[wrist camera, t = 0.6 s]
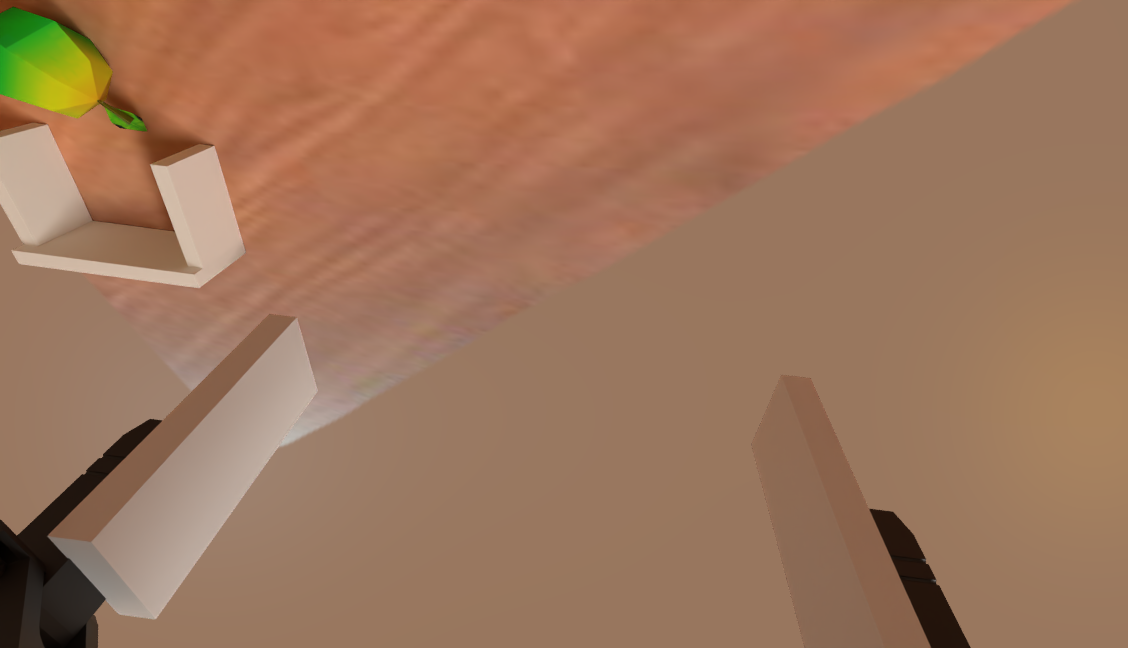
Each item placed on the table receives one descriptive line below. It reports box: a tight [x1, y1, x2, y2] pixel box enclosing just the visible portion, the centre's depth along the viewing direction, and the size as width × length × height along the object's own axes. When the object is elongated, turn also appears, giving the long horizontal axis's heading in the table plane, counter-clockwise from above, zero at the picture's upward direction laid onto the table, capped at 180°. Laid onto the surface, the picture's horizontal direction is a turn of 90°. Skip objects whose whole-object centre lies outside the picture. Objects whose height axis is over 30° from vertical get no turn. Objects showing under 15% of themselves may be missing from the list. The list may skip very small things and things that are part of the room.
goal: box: [0, 123, 246, 288], centre depth 40 cm, size 9×14×6 cm, turn 85°
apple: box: [0, 7, 147, 131], centre depth 35 cm, size 7×6×9 cm
